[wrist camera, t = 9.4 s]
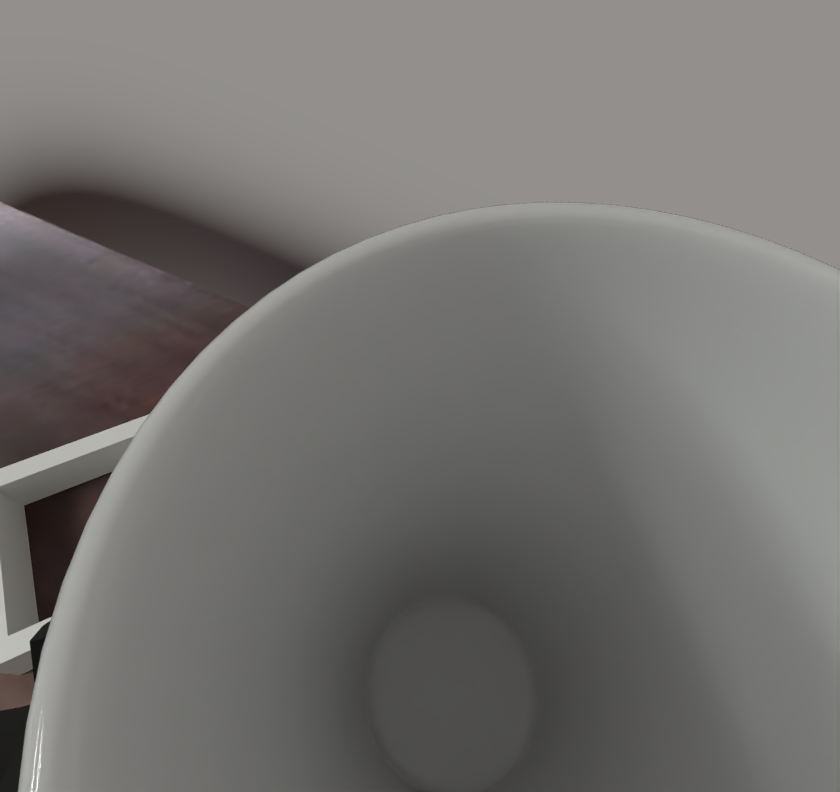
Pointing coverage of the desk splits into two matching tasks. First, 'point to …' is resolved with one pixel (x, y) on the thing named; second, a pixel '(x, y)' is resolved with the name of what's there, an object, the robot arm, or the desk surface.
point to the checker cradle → (8, 538)
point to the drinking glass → (475, 528)
